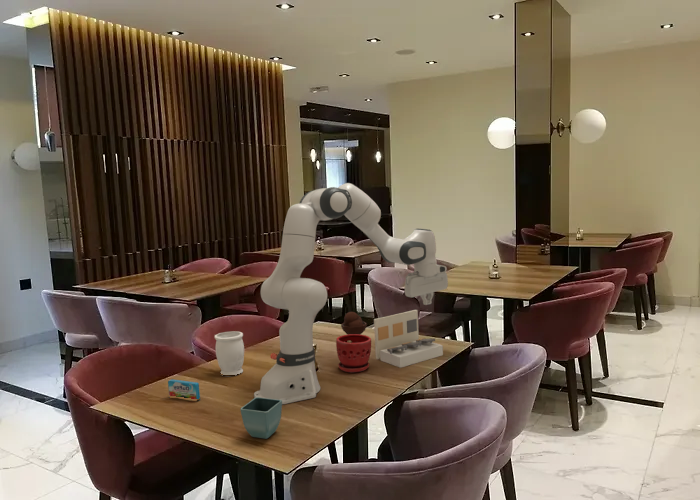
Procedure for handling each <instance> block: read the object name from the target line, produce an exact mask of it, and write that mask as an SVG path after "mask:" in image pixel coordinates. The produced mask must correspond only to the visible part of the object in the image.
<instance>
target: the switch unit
mask: <svg viewBox="0 0 700 500" xmlns="http://www.w3.org/2000/svg"><path fill="white" fill-rule="evenodd" d="M418 311H419V310H418V309H413V310H409V311H405V312H400V313H396V314H391V315H387V316H383V317H378V318H374V319H373V326H374V327H373V328H374V329H373V330H374V345H375V347H374V348H375V351H374V352H375V360H380V361H381V362H383V363H386V364H388V365H389V364H390V365H391V366H395V367H397V368H399V369H402V368H406V367H407V366H411V365H415V364H418V363H421V362H425V361H427V360H431V359H435V358H439V357H441V356H443V355H444V347H443V346H444V345H443V344H439V343H436V342H434V341H433V342H429V343H421V341H419V342H418V343H421V345H418V346H415V347H408V346H407V345H404V346H406V347H407V348H403V349H400V350H393V351H392V349H390V351H387V349H389V348H392V347H399V346H402V344H403V343H407V342H416V340H418V339H420V337H419V316H418ZM429 339H433V338H429Z"/></svg>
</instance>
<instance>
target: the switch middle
mask: <svg viewBox="0 0 700 500" xmlns="http://www.w3.org/2000/svg"><path fill="white" fill-rule="evenodd" d="M404 345H407V346H408V347H415V346H418V345H421V343H418V342H407V343H403V344H402V346H404Z"/></svg>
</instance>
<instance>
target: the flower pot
mask: <svg viewBox="0 0 700 500" xmlns="http://www.w3.org/2000/svg"><path fill="white" fill-rule="evenodd" d="M282 408H283V404H282V400H276V399H267V398H259V397H256V398H252V399H251V400H250V401H249V402H247V403H246V404H244V405H243V406H242V407H240V414H241V419H242V424H243V425H244V428H245V431H246V432H247V433H248V435H250V436H251V437H252V438H257V439H258V438H259V439H264V440H265V439H266V440H267V439H268V438H270V437H271V436H272V435H273V434H274V433H275V432H276V431H277V429H278V428H279V425H280V423H281V420H282Z"/></svg>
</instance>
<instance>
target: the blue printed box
mask: <svg viewBox="0 0 700 500" xmlns="http://www.w3.org/2000/svg"><path fill="white" fill-rule="evenodd" d="M167 385H168V386H167V387H168V396H169V395H170V396H176V397H184V398H191V399H199V398H200V399H201V393H200V383H199V382H196V381H188V380H181V379H180V380H179V379H173V378H172V379H169V380H168V381H167Z"/></svg>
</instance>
